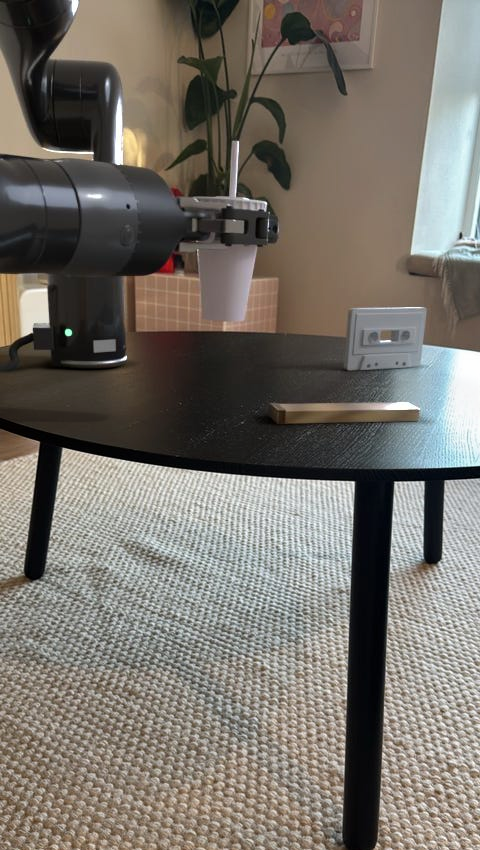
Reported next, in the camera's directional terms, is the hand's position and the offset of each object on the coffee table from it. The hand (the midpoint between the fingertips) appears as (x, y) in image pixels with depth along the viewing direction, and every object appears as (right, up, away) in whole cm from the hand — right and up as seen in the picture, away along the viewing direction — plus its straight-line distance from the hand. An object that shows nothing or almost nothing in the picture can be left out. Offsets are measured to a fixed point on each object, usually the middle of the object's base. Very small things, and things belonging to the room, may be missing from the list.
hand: (242, 228), depth 65 cm
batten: (+10, -16, +7) cm, 20 cm away
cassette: (+19, -5, +35) cm, 40 cm away
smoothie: (-2, -8, +1) cm, 8 cm away
